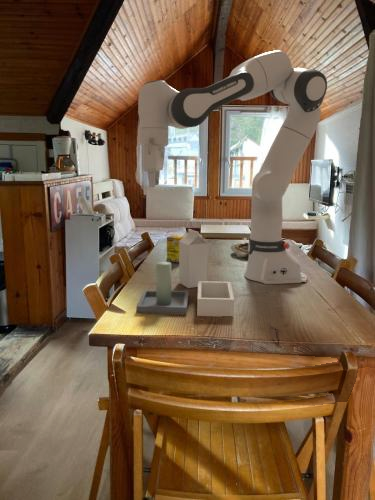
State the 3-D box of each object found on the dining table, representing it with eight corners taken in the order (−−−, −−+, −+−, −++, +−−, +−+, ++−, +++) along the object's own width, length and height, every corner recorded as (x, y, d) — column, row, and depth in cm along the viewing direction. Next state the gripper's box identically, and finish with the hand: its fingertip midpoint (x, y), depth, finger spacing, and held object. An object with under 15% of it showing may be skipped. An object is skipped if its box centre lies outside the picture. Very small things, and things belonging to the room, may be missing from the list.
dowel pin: (171, 300, 119) (171, 261, 116) (170, 305, 114) (170, 265, 112) (157, 299, 119) (157, 261, 116) (155, 305, 114) (155, 265, 112)
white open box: (229, 297, 124) (230, 281, 123) (233, 316, 108) (234, 299, 107) (198, 296, 124) (198, 281, 123) (197, 315, 108) (197, 298, 107)
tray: (188, 297, 123) (188, 291, 123) (186, 314, 110) (186, 307, 109) (144, 296, 124) (143, 290, 123) (136, 313, 110) (136, 306, 110)
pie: (290, 264, 166) (291, 252, 164) (225, 264, 166) (226, 252, 165) (277, 249, 193) (277, 239, 192) (221, 249, 193) (221, 239, 192)
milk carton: (188, 288, 131) (188, 233, 127) (178, 283, 137) (179, 229, 133) (206, 285, 134) (207, 231, 130) (196, 280, 140) (197, 228, 136)
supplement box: (166, 262, 165) (166, 236, 162) (172, 259, 170) (172, 234, 168) (179, 263, 163) (179, 238, 160) (185, 260, 168) (185, 235, 165)
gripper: (160, 137, 106) (160, 188, 110) (167, 140, 126) (167, 184, 129) (137, 137, 107) (138, 188, 110) (147, 140, 127) (148, 184, 130)
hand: (154, 186), depth 120 cm, fingers open, 8 cm apart
